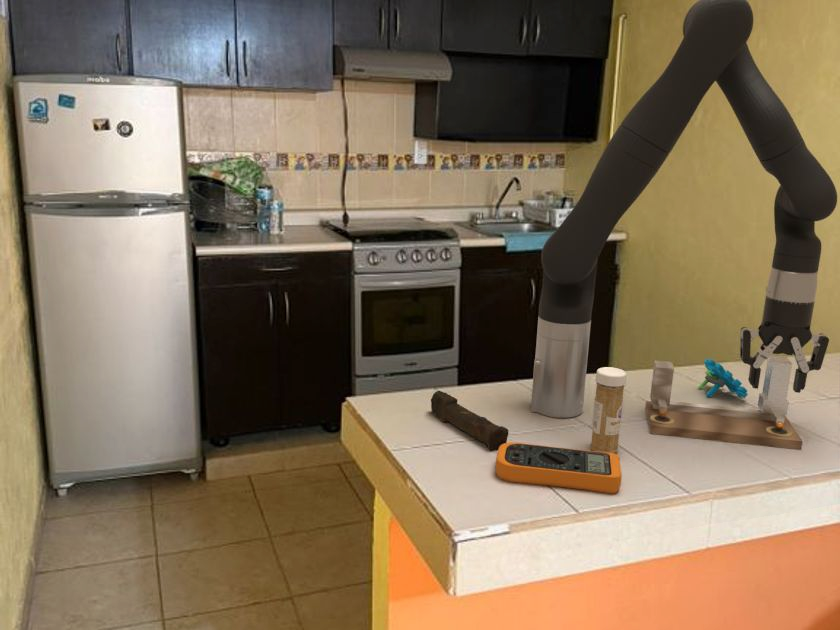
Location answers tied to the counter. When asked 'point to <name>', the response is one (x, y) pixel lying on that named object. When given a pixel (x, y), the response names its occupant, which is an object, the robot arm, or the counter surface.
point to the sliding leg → (776, 389)
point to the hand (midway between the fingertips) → (775, 388)
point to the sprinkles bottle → (607, 409)
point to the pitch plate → (711, 418)
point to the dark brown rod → (468, 420)
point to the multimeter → (559, 467)
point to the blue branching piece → (721, 379)
